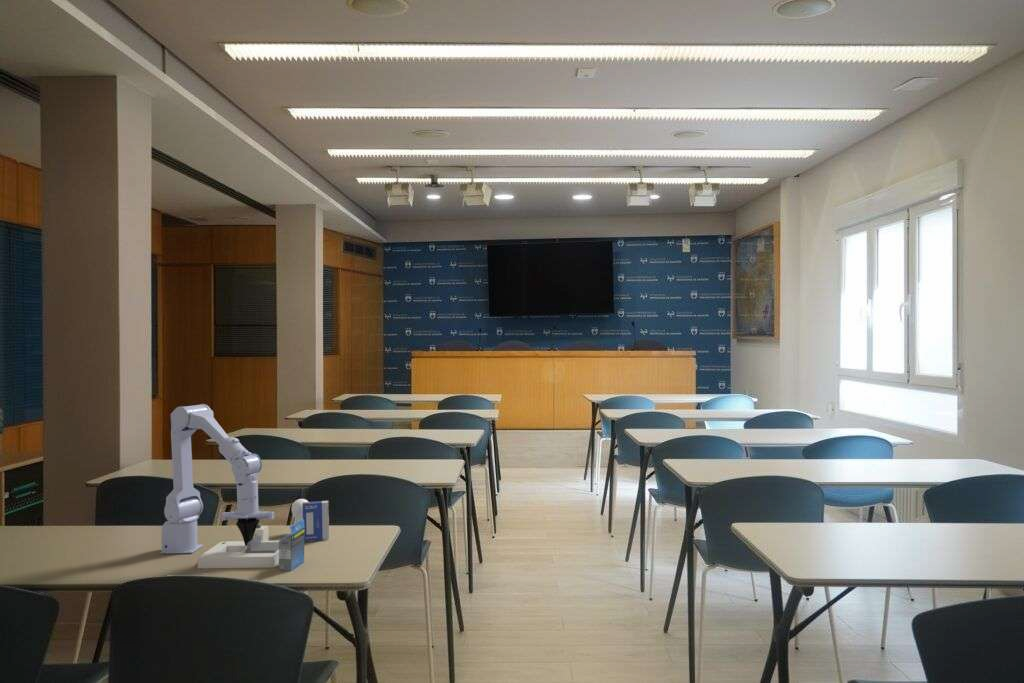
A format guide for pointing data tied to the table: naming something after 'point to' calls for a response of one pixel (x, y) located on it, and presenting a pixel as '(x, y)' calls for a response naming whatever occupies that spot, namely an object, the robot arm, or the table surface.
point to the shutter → (261, 546)
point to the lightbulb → (298, 510)
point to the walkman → (316, 520)
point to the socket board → (236, 556)
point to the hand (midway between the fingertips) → (248, 544)
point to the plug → (261, 532)
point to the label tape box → (292, 548)
